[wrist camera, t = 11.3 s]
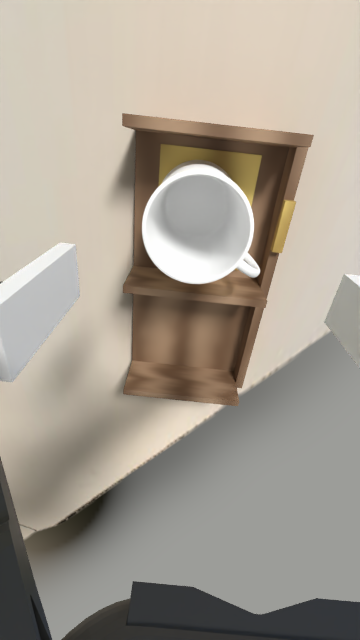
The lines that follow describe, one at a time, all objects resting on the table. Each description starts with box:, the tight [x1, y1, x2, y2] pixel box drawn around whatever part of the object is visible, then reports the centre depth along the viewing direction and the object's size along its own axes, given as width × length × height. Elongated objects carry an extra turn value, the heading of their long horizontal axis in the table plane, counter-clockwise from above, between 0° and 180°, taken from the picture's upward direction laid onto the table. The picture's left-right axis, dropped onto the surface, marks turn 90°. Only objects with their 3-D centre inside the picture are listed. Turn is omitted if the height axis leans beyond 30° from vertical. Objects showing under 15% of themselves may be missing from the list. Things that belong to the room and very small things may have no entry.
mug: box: [142, 160, 260, 284], centre depth 26 cm, size 12×8×12 cm
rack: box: [122, 113, 314, 406], centre depth 33 cm, size 16×30×7 cm, turn 174°
